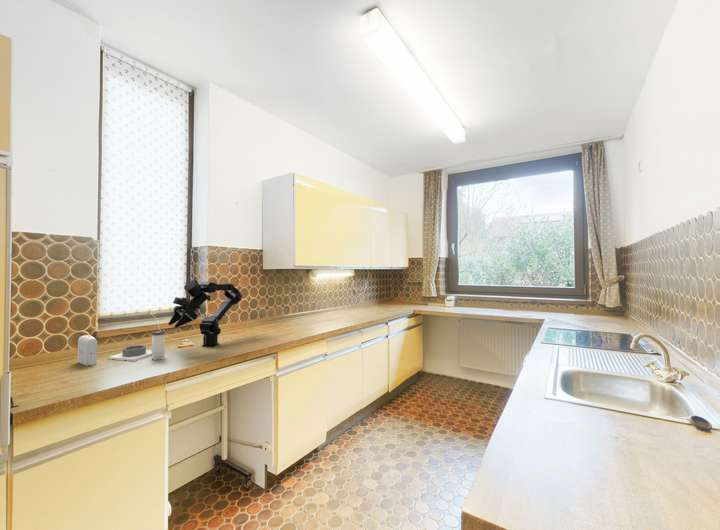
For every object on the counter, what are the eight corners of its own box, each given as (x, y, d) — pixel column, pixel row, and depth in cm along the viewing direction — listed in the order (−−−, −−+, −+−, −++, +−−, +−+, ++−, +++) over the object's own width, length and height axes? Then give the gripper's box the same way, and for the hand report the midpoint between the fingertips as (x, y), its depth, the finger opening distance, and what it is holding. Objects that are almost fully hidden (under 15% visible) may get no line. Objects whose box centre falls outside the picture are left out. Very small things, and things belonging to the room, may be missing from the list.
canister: (167, 357, 150) (167, 331, 150) (158, 360, 145) (158, 333, 145) (157, 356, 151) (158, 330, 151) (148, 359, 146) (148, 332, 146)
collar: (158, 352, 157) (159, 344, 157) (133, 361, 144) (134, 352, 144) (134, 351, 160) (134, 343, 160) (108, 359, 146) (108, 350, 146)
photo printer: (98, 364, 139) (98, 335, 139) (86, 366, 136) (86, 337, 136) (87, 360, 144) (88, 333, 144) (75, 362, 141) (76, 334, 141)
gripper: (178, 290, 166) (153, 313, 158) (191, 292, 153) (165, 317, 145) (193, 304, 172) (170, 327, 163) (207, 307, 159) (183, 332, 151)
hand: (171, 326), depth 155 cm, fingers open, 9 cm apart
